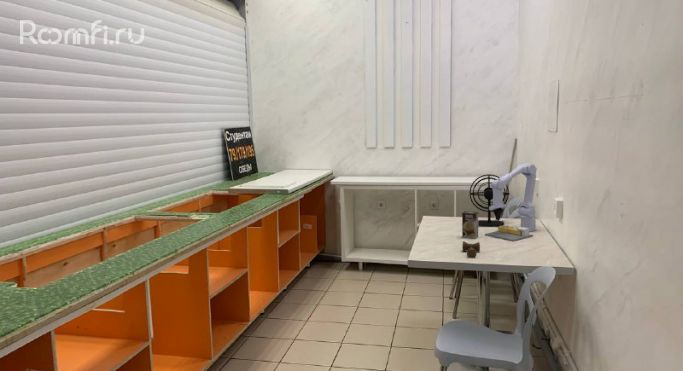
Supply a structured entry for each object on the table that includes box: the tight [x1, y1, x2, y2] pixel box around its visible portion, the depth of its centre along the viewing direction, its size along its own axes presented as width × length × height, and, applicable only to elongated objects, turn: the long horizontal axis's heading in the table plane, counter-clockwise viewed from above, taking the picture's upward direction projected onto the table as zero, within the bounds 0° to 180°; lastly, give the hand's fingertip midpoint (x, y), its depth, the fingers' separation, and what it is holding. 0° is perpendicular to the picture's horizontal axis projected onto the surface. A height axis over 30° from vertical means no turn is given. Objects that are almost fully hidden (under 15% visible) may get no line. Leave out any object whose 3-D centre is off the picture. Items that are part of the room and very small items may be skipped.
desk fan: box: [469, 173, 511, 227], centre depth 351 cm, size 27×18×35 cm, turn 75°
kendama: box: [461, 241, 481, 259], centre depth 282 cm, size 6×10×20 cm
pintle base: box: [484, 224, 534, 242], centre depth 317 cm, size 19×22×5 cm
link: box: [497, 225, 522, 235], centre depth 320 cm, size 16×6×3 cm, turn 30°
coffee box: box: [461, 211, 479, 240], centre depth 318 cm, size 9×6×16 cm
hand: (497, 219), depth 320 cm, fingers closed
